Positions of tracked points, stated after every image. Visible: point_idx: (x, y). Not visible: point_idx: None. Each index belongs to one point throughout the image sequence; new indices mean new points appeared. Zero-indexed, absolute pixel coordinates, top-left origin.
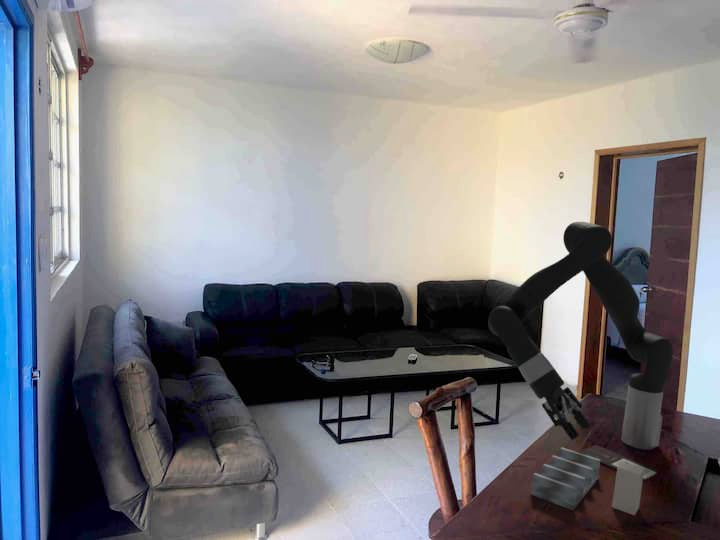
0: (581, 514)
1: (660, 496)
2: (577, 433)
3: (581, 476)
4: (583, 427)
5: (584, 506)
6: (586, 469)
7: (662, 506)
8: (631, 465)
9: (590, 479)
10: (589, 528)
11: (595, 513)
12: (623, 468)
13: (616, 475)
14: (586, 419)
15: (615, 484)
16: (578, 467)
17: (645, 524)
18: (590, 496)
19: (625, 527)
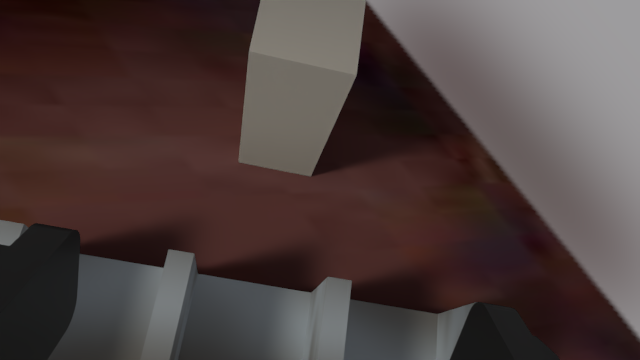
0: (452, 282)
1: (92, 6)
2: (513, 316)
3: (326, 299)
4: (67, 306)
5: (378, 279)
6: (186, 288)
7: (183, 8)
8: (276, 5)
9: (196, 269)
10: (528, 242)
11: (405, 232)
12: (348, 45)
13: (343, 102)
14: (4, 261)
15: (332, 126)
16: (174, 340)
17: (364, 69)
18: (268, 266)
19: (431, 128)
